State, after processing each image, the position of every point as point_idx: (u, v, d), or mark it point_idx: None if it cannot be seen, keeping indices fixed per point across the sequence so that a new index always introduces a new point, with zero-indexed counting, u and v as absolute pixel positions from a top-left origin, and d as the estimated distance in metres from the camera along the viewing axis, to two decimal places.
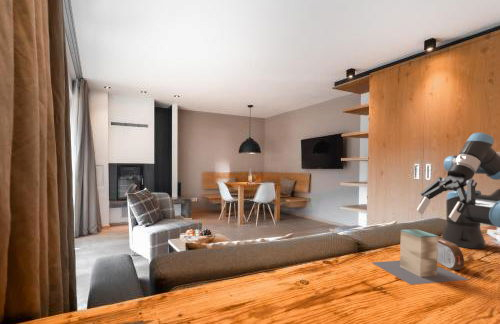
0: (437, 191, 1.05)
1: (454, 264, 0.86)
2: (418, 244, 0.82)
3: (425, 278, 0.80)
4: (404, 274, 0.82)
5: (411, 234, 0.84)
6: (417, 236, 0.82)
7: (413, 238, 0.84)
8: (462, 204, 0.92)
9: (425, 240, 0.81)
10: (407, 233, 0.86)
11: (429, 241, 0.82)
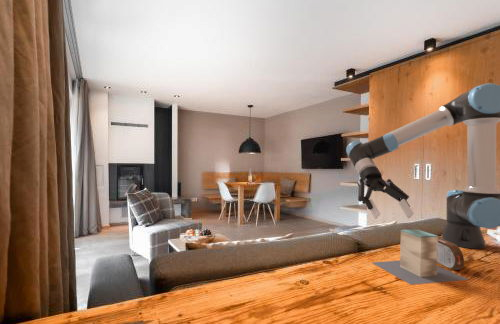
0: (390, 193, 1.04)
1: (454, 265, 0.86)
2: (418, 244, 0.82)
3: (425, 278, 0.80)
4: (404, 274, 0.82)
5: (411, 234, 0.84)
6: (417, 236, 0.82)
7: (413, 238, 0.84)
8: None
9: (425, 240, 0.81)
10: (407, 233, 0.86)
11: (429, 241, 0.82)
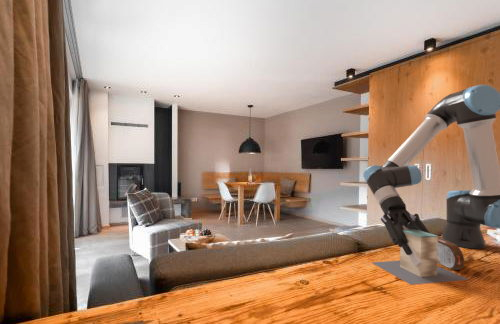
0: None
1: (454, 265, 0.86)
2: (418, 244, 0.82)
3: (425, 278, 0.80)
4: (404, 274, 0.82)
5: (411, 234, 0.84)
6: (417, 236, 0.82)
7: (413, 238, 0.84)
8: None
9: (425, 240, 0.81)
10: (407, 233, 0.86)
11: (429, 241, 0.82)
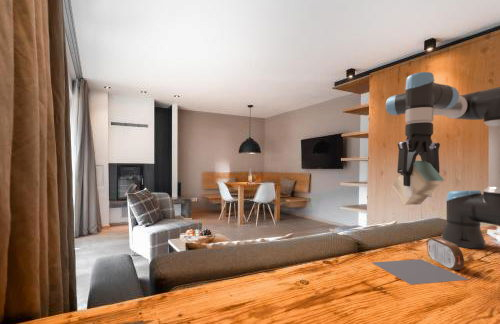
0: None
1: (454, 265, 0.86)
2: (420, 183, 0.81)
3: (425, 278, 0.80)
4: (404, 274, 0.82)
5: (419, 171, 0.82)
6: (423, 177, 0.80)
7: (418, 176, 0.82)
8: None
9: (428, 182, 0.80)
10: (416, 168, 0.83)
11: (432, 183, 0.81)
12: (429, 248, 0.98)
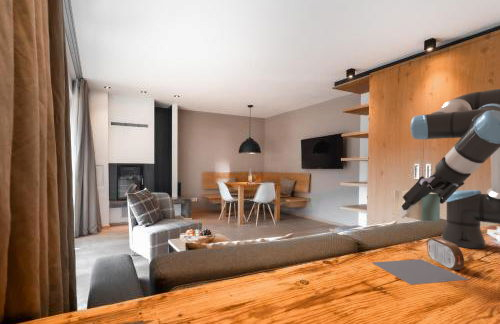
0: (436, 192, 0.82)
1: (454, 265, 0.86)
2: (415, 216, 0.83)
3: (425, 278, 0.80)
4: (404, 274, 0.82)
5: (421, 208, 0.81)
6: (421, 216, 0.81)
7: (418, 210, 0.82)
8: None
9: None
10: (421, 203, 0.81)
11: None
12: (429, 248, 0.98)
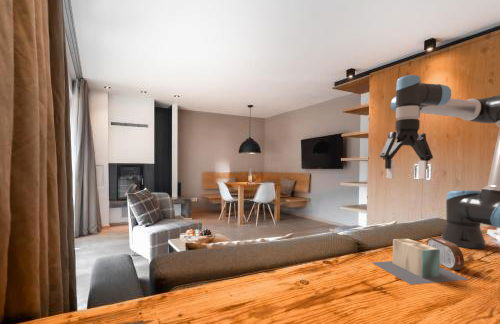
0: (416, 150, 1.00)
1: (454, 265, 0.86)
2: (415, 271, 0.83)
3: (425, 278, 0.80)
4: (404, 274, 0.82)
5: (421, 265, 0.81)
6: (421, 273, 0.81)
7: (418, 266, 0.81)
8: None
9: None
10: (421, 259, 0.81)
11: None
12: None
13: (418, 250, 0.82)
